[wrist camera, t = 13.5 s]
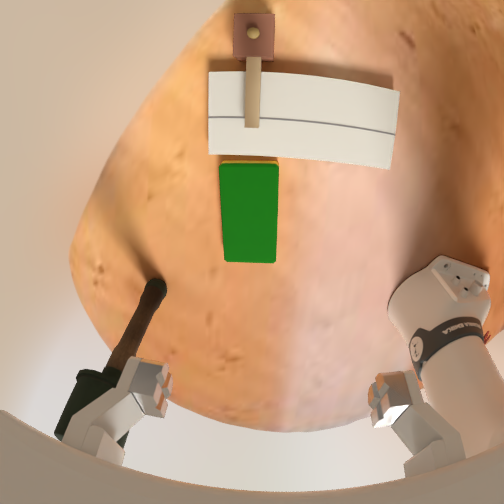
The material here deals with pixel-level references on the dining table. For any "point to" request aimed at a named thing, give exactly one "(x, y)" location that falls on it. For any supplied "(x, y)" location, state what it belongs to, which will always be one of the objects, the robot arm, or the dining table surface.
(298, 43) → the dining table surface
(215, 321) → the dining table surface
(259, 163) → the dish sponge
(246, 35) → the block
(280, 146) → the board
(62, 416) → the potato masher grenade
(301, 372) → the dining table surface
